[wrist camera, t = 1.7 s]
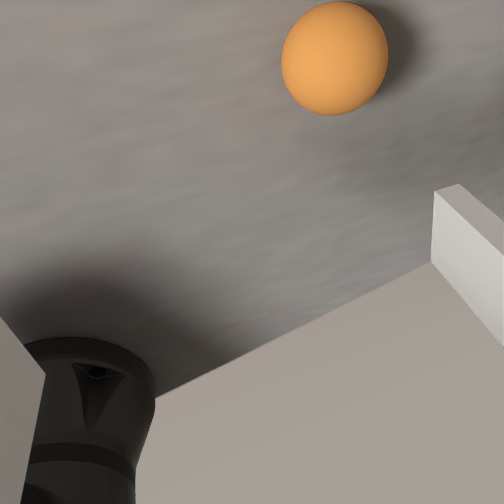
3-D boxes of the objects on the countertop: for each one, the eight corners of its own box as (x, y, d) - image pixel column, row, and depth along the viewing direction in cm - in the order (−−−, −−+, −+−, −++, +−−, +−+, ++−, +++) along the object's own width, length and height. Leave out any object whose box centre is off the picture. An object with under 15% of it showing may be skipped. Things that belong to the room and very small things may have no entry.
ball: (280, 107, 30) (305, 144, 26) (262, 9, 27) (288, 30, 22) (366, 82, 31) (407, 114, 26) (360, -19, 27) (407, -3, 22)
